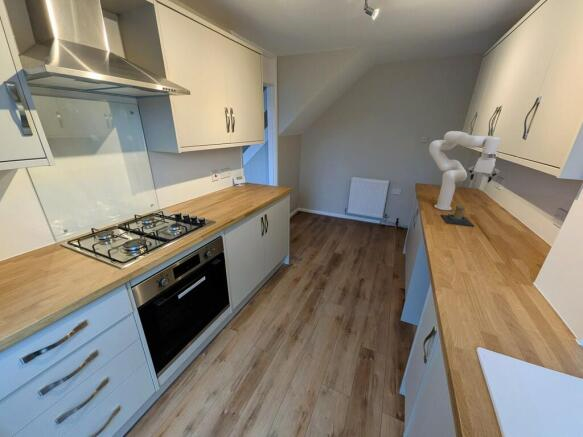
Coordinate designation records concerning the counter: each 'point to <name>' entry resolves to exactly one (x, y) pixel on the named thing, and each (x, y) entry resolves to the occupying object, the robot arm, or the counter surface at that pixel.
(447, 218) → the pad
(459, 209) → the olive green tapered piece
